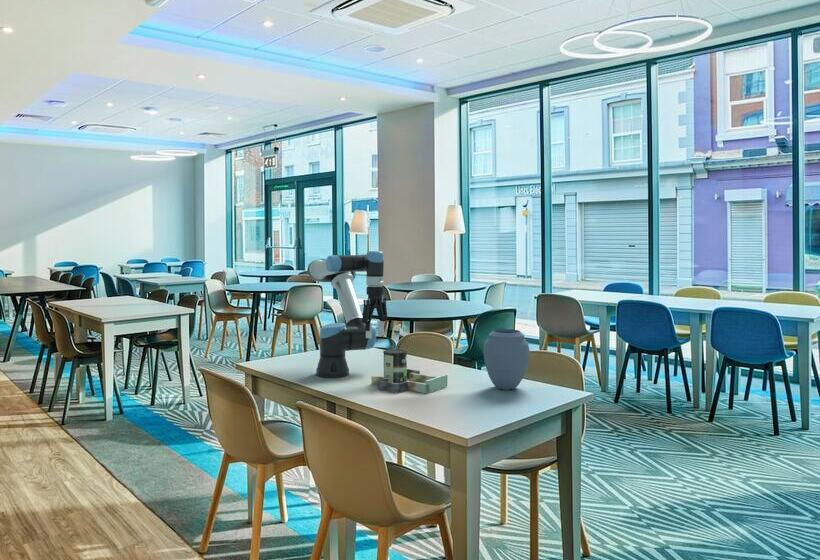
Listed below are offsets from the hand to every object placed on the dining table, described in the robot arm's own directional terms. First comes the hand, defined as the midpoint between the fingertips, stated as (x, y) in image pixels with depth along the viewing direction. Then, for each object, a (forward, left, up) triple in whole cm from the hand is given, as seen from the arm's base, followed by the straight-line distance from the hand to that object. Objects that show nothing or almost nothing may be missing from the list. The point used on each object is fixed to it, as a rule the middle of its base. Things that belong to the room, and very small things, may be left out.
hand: (375, 336), depth 292 cm
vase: (+55, +19, -20) cm, 61 cm away
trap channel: (+16, 0, -19) cm, 25 cm away
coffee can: (+11, 0, -20) cm, 22 cm away
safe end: (+31, 0, -19) cm, 36 cm away
